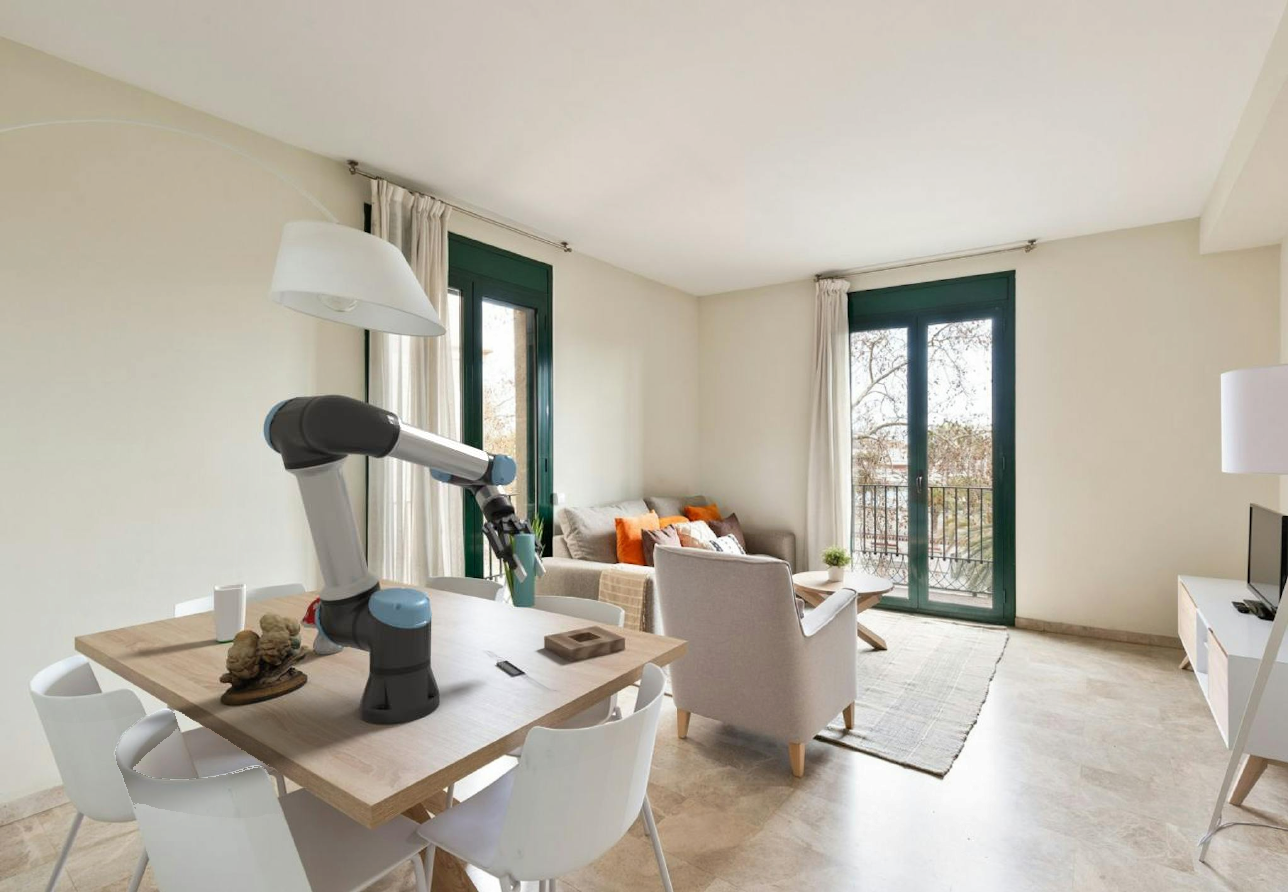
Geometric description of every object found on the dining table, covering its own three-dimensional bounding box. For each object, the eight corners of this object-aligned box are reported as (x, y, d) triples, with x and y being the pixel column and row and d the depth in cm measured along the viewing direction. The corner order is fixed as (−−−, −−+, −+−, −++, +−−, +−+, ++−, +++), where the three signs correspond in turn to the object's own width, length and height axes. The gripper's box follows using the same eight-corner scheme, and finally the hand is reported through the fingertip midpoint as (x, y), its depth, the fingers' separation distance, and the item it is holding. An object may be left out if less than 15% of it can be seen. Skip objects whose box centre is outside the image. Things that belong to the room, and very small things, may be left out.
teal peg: (519, 608, 146) (519, 537, 146) (510, 604, 150) (510, 534, 150) (538, 605, 149) (538, 535, 149) (529, 601, 153) (529, 533, 153)
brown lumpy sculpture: (293, 673, 145) (293, 601, 146) (323, 682, 139) (323, 606, 140) (208, 699, 130) (208, 618, 130) (238, 711, 124) (238, 626, 124)
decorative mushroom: (369, 648, 164) (369, 592, 164) (317, 663, 152) (317, 602, 152) (341, 639, 172) (341, 586, 172) (289, 653, 160) (289, 595, 160)
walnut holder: (570, 666, 149) (570, 649, 149) (544, 651, 160) (544, 636, 160) (625, 653, 158) (624, 637, 158) (596, 640, 170) (596, 625, 170)
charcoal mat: (513, 676, 142) (513, 674, 142) (496, 664, 150) (496, 662, 150) (552, 667, 148) (552, 665, 148) (533, 656, 156) (533, 654, 156)
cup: (243, 634, 177) (244, 582, 177) (246, 640, 171) (246, 587, 172) (213, 639, 173) (213, 586, 173) (214, 645, 167) (214, 590, 167)
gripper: (518, 512, 167) (556, 581, 155) (458, 517, 154) (494, 592, 142) (530, 493, 163) (569, 562, 152) (469, 496, 150) (507, 572, 139)
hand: (533, 577), depth 147 cm, fingers closed on teal peg, 5 cm apart
